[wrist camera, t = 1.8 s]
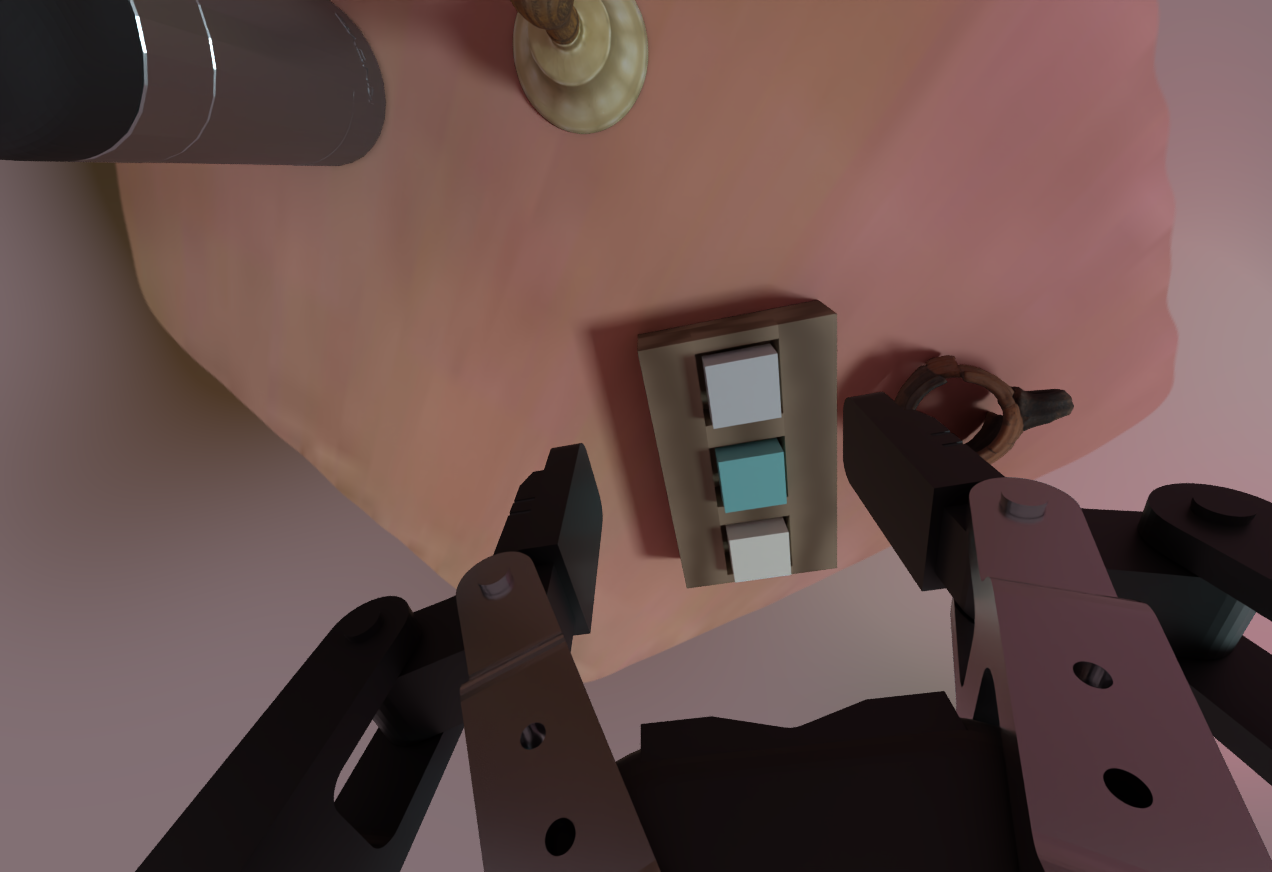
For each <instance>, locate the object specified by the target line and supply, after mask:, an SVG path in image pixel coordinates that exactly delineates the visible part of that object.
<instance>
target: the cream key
mask: <svg viewBox="0 0 1272 872" xmlns="http://www.w3.org/2000/svg"><path fill="white" fill-rule="evenodd" d="M726 532H727V539H728V546H729V553H730V560H731V567H732V571H733V575H734V580H735V582H743V581H750V580H757V579H765V578H772V577H779V576H787V575H791V562H790V546H789V532H788V529H787V527H786V524H785V522H784V519H783V517H782V516H781V517H775V518H768V519H761V520H755V521H748V522H741V523H734V524H728V525H726Z"/></svg>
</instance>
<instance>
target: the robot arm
mask: <svg viewBox="0 0 1272 872" xmlns="http://www.w3.org/2000/svg"><path fill="white" fill-rule="evenodd" d="M385 106H386V99H385V90H384V83H383V79H382V75H381V72H380V68H379V65H378V62H377V60H376V58H375V56H374V54H373V51H372V49H371V47H370V45H369V43H368V42H367V40H366V39H365V37H364V36H363V34H362V33H361V31H360V30H359V28H358V27H357V26H356V25H355V24H354V22H353V21H352V20H351V19H350V18H349V17H348V16H347V15H346V14H345V13H344V12H343V11H342V10H341V9H340V8H338V7H337V6H336V5H335V4H333V3H332V2H331V1H329V0H0V160H14V161H68V162H117V163H198V164H253V165H294V166H340V165H345V164H349V163H352V162H354V161H356V160H358V159H360V158H361V157H363V156H364V155H365V154H366V153H367V152H368V151H369V150H370V149H371V148H372V147H373V146H374V144H375V142H376V141H377V139H378V137H379V135H380V133H381V130H382V126H383V123H384V119H385ZM843 462H844V468H845V472H846V475H847V478H848V481H849V483H850V484H851V486H852V487H853V489H854V490H855V492H856V493H857V495H858V496H859V498H860V499H861V501H862V502H863V504H864V505H865V507H866V508H867V510H868V511H869V513H870V514H871V516H872V517H873V519H874V520H875V522H876V523H877V525H878V526H879V528H880V529H881V531H882V532H883V534H884V535H885V537H886V538H887V540H888V541H889V543H890V544H891V546H892V547H893V549H894V550H895V552H896V553H897V555H898V556H899V558H900V559H901V561H902V562H903V564H904V565H905V567H906V568H907V570H908V571H909V573H910V574H911V575H912V577H913V579H914V580H915V582H916V583H917V585H918V586H919V588H920V589H921V591H928V590H936V589H943V588H947V590H948V591H949V593H950V594H951V595H952V597H953V598H952V605H951V611H950V612H951V613H950V617H951V631H952V647H953V662H954V676H955V692H956V710H955V709H954V707H953V705H952V704H951V702H950V700H949V698H948V697H947V695H946V693H945V692H944V691H941V692H931V693H923V694H913V695H904V696H895V697H885V698H876V699H867V700H864V701H861V702H859V703H857V704H854V705H851V706H849V707H846V708H844V709H842V710H839V711H837V712H834V713H832V714H829V715H827V716H824V717H822V718H819V719H817V720H814V721H812V722H809V723H807V724H804V725H802V726H799V727H794V728H784V727H778V726H771V725H764V724H758V723H752V722H745V721H738V720H732V719H725V718H719V717H702V718H693V719H684V720H675V721H665V722H657V723H648V724H641V749H640V750H638V751H635V752H633V753H631V754H629V755H627V756H625V757H623V758H622V759H620V760H618V761H616V762H615V760H614V757H613V755H612V752H611V750H610V748H609V745H608V743H607V740H606V738H605V735H604V733H603V730H602V728H601V726H600V723H599V721H598V718H597V716H596V714H595V711H594V709H593V706H592V704H591V701H590V699H589V696H588V694H587V692H586V689H585V687H584V684H583V682H582V679H581V677H580V675H579V672H578V670H577V667H576V665H575V662H574V660H573V658H572V655H571V646H572V639H573V636H574V635H582V634H589V633H590V631H591V622H592V613H593V604H594V594H595V585H596V576H597V567H598V558H599V549H600V540H601V531H602V521H603V515H602V505H601V500H600V496H599V492H598V489H597V485H596V482H595V478H594V475H593V471H592V468H591V465H590V461H589V458H588V454H587V451H586V448H585V446H584V445H583V443H579V444H573V445H567V446H562V447H556V448H552V449H551V450H550V453H549V456H548V459H547V462H546V465H545V468H544V470H542V471H536V472H533V473H532V474H531V475H530V476H529V477H528V478H527V479H526V480H525V481H524V482H523V483H522V484H521V485H520V487H519V489H518V492H517V495H516V497H515V500H514V502H515V503H513V505H512V508H511V510H510V516H508V518H507V521H506V523H505V526H504V528H503V531H502V534H501V536H500V539H499V541H498V544H497V547H496V549H495V552H494V554H493V556H490V557H488V558H486V559H484V560H482V561H481V562H479V563H477V564H476V565H475V566H473V567H472V568H471V569H470V570H469V571H468V572H467V573H466V574H465V575H464V576H463V578H462V579H461V581H460V582H459V585H458V587H457V590H456V595H455V596H454V597H451V598H449V599H447V600H444V601H441V602H439V603H436V604H434V605H431V606H429V607H426V608H423V609H421V610H418V611H416V612H412V610H411V609H410V607H409V605H408V604H407V602H406V601H405V600H404V599H402V598H400V597H397V596H386V597H381V598H377V599H374V600H371V601H369V602H367V603H365V604H363V605H361V606H359V607H357V608H356V609H354V610H353V611H351V612H350V613H348V614H347V615H346V616H345V617H343V618H342V619H341V620H340V621H339V622H338V623H337V624H336V625H335V626H334V627H333V628H332V630H331V631H330V632H329V633H328V635H327V636H326V637H325V638H324V639H323V641H322V642H321V643H320V644H319V646H318V647H317V648H316V649H315V651H314V652H313V653H312V654H311V655H310V657H309V658H308V659H307V660H306V662H305V663H304V664H303V665H302V666H301V668H300V669H299V670H298V671H297V673H296V674H295V675H294V676H293V678H292V679H291V680H290V681H289V683H288V684H287V685H286V686H285V687H284V689H283V690H282V691H281V692H280V694H279V695H278V696H277V698H276V699H275V700H274V701H273V702H272V703H271V705H270V706H269V707H268V709H267V710H266V711H265V712H264V713H263V715H262V716H261V717H260V718H259V720H258V721H257V722H256V723H255V724H254V726H253V727H252V728H251V729H250V731H249V732H248V733H247V734H246V736H245V737H244V738H243V739H242V740H241V742H240V743H239V744H238V746H237V747H236V748H235V749H234V750H233V752H232V753H231V754H230V755H229V757H228V758H227V759H226V760H225V761H224V763H223V764H222V765H221V766H220V768H219V769H218V770H217V771H216V773H215V774H214V775H213V776H212V778H211V779H210V780H209V781H208V782H207V784H206V785H205V786H204V787H203V789H202V790H201V791H200V792H199V794H198V795H197V796H196V797H195V798H194V800H193V801H192V802H191V803H190V805H189V806H188V807H187V808H186V810H185V811H184V812H183V813H182V814H181V816H180V817H179V818H178V819H177V821H176V822H175V823H174V824H173V826H172V827H171V828H170V829H169V831H168V832H167V833H166V834H165V835H164V837H163V838H162V839H161V840H160V842H159V843H158V844H157V846H155V848H154V849H153V850H152V851H151V853H150V854H149V855H148V856H147V858H146V859H145V860H144V861H143V863H142V864H141V865H140V866H139V867H138V869H137V870H136V871H135V872H400V870H401V868H402V866H403V864H404V861H405V859H406V857H407V855H408V852H409V850H410V848H411V845H412V843H413V841H414V839H415V836H416V834H417V832H418V830H419V827H420V825H421V823H422V821H423V818H424V816H425V814H426V812H427V809H428V807H429V805H430V803H431V800H432V798H433V796H434V794H435V791H436V789H437V787H438V784H439V782H440V780H441V778H442V775H443V773H444V771H445V769H446V766H447V764H448V762H449V760H450V757H451V755H452V753H453V751H454V748H455V746H456V744H457V742H458V739H459V737H460V735H461V733H462V730H463V728H464V729H465V737H466V744H467V751H468V758H469V765H470V773H471V780H472V787H473V794H474V801H475V809H476V816H477V823H478V830H479V838H480V845H481V851H482V860H483V866H484V872H1272V860H1271V858H1270V856H1269V854H1268V851H1267V849H1266V847H1265V845H1264V843H1263V841H1262V839H1261V837H1260V835H1259V832H1258V830H1257V828H1256V826H1255V824H1254V822H1253V820H1252V818H1251V815H1250V813H1249V811H1248V809H1247V807H1246V805H1245V803H1244V801H1243V799H1242V796H1241V794H1240V792H1239V790H1238V788H1237V786H1236V784H1235V781H1234V779H1233V778H1232V775H1231V773H1230V771H1229V769H1228V767H1227V765H1226V763H1225V760H1224V758H1223V756H1222V754H1221V752H1220V750H1219V748H1218V745H1217V743H1216V741H1215V739H1214V737H1215V738H1216V739H1217V740H1218V741H1220V742H1221V743H1222V744H1223V745H1224V746H1225V747H1227V748H1228V749H1229V750H1230V751H1232V752H1233V753H1234V754H1235V755H1236V756H1237V757H1239V758H1240V759H1241V760H1242V761H1243V762H1244V763H1246V764H1247V765H1248V766H1249V767H1250V768H1251V769H1253V770H1254V771H1255V772H1256V773H1257V774H1258V775H1260V776H1261V777H1262V778H1263V779H1264V780H1266V781H1267V782H1268V783H1269V784H1270V785H1272V655H1271V654H1270V653H1268V652H1267V651H1265V650H1264V649H1262V648H1261V647H1259V646H1258V645H1256V644H1255V643H1253V642H1252V641H1250V640H1249V639H1247V638H1246V637H1244V636H1243V633H1244V631H1245V630H1246V628H1247V626H1248V625H1249V623H1250V621H1251V620H1252V618H1253V616H1254V615H1255V613H1256V612H1257V613H1259V614H1260V615H1262V616H1264V617H1265V618H1267V619H1269V620H1270V621H1272V503H1271V502H1268V501H1266V500H1264V499H1261V498H1259V497H1256V496H1253V495H1250V494H1247V493H1244V492H1241V491H1237V490H1233V489H1229V488H1224V487H1219V486H1213V485H1206V484H1194V483H1181V484H1171V485H1165V486H1162V487H1159V488H1157V489H1155V490H1153V491H1152V492H1151V494H1150V495H1149V497H1148V500H1147V502H1146V505H1145V508H1144V510H1143V512H1137V511H1118V510H1098V509H1083V508H1080V506H1079V504H1078V503H1077V502H1076V501H1075V500H1074V499H1073V498H1072V497H1071V496H1069V495H1068V494H1066V493H1065V492H1063V491H1061V490H1059V489H1057V488H1055V487H1052V486H1050V485H1047V484H1045V483H1042V482H1038V481H1034V480H1029V479H1023V478H1012V477H1004V476H1003V475H1002V474H1001V473H1000V472H999V471H997V470H996V469H995V468H994V467H993V466H991V465H990V464H989V463H988V462H987V461H985V460H984V459H983V458H982V457H981V456H979V455H978V454H977V453H976V452H975V451H974V450H972V449H971V448H970V447H969V446H968V445H966V444H963V442H962V440H960V439H959V438H958V437H957V436H956V435H954V434H953V433H950V430H949V429H947V428H946V427H945V426H944V425H943V424H941V423H940V422H939V421H938V420H937V419H935V418H934V417H931V416H929V415H926V414H924V413H921V412H919V411H916V410H914V409H908V410H903V409H902V408H901V407H900V406H899V405H898V404H897V403H895V402H894V401H893V400H892V399H891V398H890V397H889V396H888V395H887V394H885V393H884V392H877V393H872V394H866V395H860V396H854V397H848V398H846V400H845V402H844V407H843ZM372 719H373V721H374V722H375V723H376V724H377V726H378V727H379V728H378V729H377V731H376V733H375V734H374V736H373V738H372V740H371V741H370V743H369V744H368V746H367V748H366V750H365V751H364V753H363V755H362V756H361V758H360V760H359V762H358V763H357V765H356V766H355V769H354V770H353V772H352V773H351V775H350V777H349V779H348V780H347V782H346V783H345V785H344V787H343V789H342V790H341V792H340V794H339V795H338V797H337V799H336V800H335V802H334V790H335V785H336V782H337V779H338V777H339V774H340V772H341V770H342V768H343V767H344V765H345V763H346V762H347V760H348V759H349V757H350V755H351V754H352V752H353V750H354V749H355V747H356V745H357V744H358V742H359V740H360V739H361V737H362V736H363V734H364V732H365V730H366V729H367V727H368V726H369V724H370V723H371V721H372ZM1213 736H1214V737H1213Z"/></svg>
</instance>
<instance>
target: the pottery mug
mask: <svg viewBox="0 0 1272 872" xmlns="http://www.w3.org/2000/svg"><path fill="white" fill-rule="evenodd" d="M951 377H961V378H962V379H963V380H964V381H965V382H970V383H975V384H978V385H980V386H983V387H985V388H986V389H988V390H989V391H990V392H991V393H993V394H994V396H995V397H996V398H997V399H998V404H999V405H1000V406H1001V408H1002V410H1003V416H1002V415H997V414H995V413H993V412H987V414H986V418H985V422H984V424H983V426H982V428H981V430H980V431H979V432H978V433H977V434H976V435H975V436H974V438H973V439H972V440H970V441H969V442H967V443H966V445H968V446H969V447H970V448H971V449H972V450H974V451H975V452H976V453H977V454H978V455H979V456H981V457H982V458H983V459H984V460H985V461H987V462H988V463H989V464H992V463H994V462H995V461H997V460H998V459H1000V458H1001V457H1003V456H1004V455H1005V454H1006V453H1007V452H1008V451H1009V450H1010V449H1011V448H1012V447H1013V446H1014V443H1015V441H1016V440H1017V439H1018V438H1019V437H1020V435H1021V434H1022V433H1023V431H1025V430H1028V429H1030V428H1033V427H1036V426H1039V425H1043V424H1047V423H1050V422H1052V421H1054V420H1056V419H1059V418H1062V417H1064V416H1067V415H1069V414H1070V413H1071V411H1072V409H1073V408H1074V405H1073V403H1072V398H1071V396H1070V395H1069V394H1068V393H1067V392H1066V391H1065V390H1060V389H1049V390H1035V391H1024V390H1022V389H1021V388H1019V387H1010V386H1008V385H1007V384H1006V383H1005V382H1003V381H1002V380H1001V379H999V378H998V377H997V376H995V375H993V374H991V373H989V372H987V371H985V370H982V369H980V368H977V367H974V366H969V365H963V364H960V365H958V364H957V362H956V361H955V357H954V356H949V355H947V356H941V357H937V358H932V359H930V360H929V361H927V362H926V366H925V365H924V366H921V367H919V368H918V369H917V370H916V371H915V372H914V373H913V374H912V375H911V376H910V378H909V379H908V380H907V381H906V383H905V384H904V385H903V386H902V388H901V389H900V391H899V393H898V395H897V397H896V399H895V400H894V402H895V403H897V404H898V405H899V406H900V407H901V408H902V409H903V410H908V409H914V410H916V408H917V406H918V404H919V402H920V401H921V400H922V398H923V397H924V396H925V395H926V394H927V393H929V392H930V391H931V390H933V389H934V388H936V387H938V386H941V385H943V384H945V383H947V380H946V378H951Z"/></svg>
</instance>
